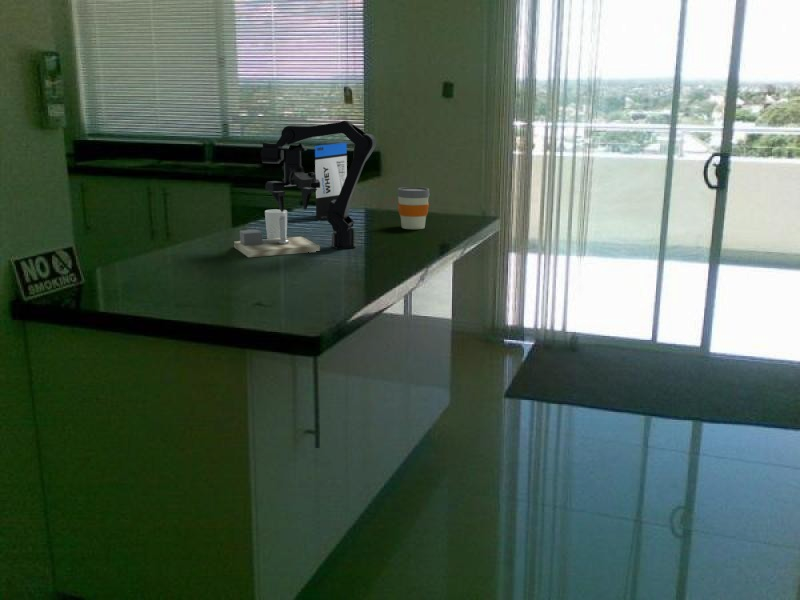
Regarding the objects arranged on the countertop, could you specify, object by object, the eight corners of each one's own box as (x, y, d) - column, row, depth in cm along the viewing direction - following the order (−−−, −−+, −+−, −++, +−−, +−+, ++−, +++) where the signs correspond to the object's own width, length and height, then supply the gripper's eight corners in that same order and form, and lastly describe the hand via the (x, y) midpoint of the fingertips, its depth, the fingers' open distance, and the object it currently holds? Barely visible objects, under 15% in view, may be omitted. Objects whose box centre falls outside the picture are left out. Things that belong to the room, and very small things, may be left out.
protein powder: (356, 214, 342) (356, 143, 334) (326, 221, 321) (325, 146, 313) (337, 212, 346) (336, 142, 339) (306, 220, 325) (304, 145, 318)
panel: (302, 242, 278) (301, 236, 278) (319, 251, 263) (319, 245, 262) (234, 247, 268) (233, 241, 268) (248, 257, 253) (248, 251, 252)
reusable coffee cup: (435, 226, 313) (435, 188, 309) (418, 231, 302) (419, 191, 299) (407, 223, 319) (408, 186, 315) (390, 227, 309) (391, 189, 305)
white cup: (261, 239, 282) (260, 211, 280) (273, 236, 290) (272, 208, 287) (280, 241, 280) (280, 213, 277) (292, 237, 287) (291, 210, 284)
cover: (257, 241, 268) (257, 229, 267) (262, 244, 263) (262, 232, 262) (240, 242, 266) (239, 230, 265) (244, 245, 261) (244, 233, 260)
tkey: (263, 240, 268) (262, 215, 266) (289, 240, 269) (288, 215, 267) (261, 245, 260) (260, 219, 258) (288, 244, 261) (288, 219, 259)
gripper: (281, 167, 254) (283, 215, 258) (329, 164, 266) (330, 210, 270) (263, 164, 263) (265, 211, 267) (310, 161, 274) (311, 206, 278)
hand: (293, 210), depth 270 cm, fingers open, 9 cm apart
